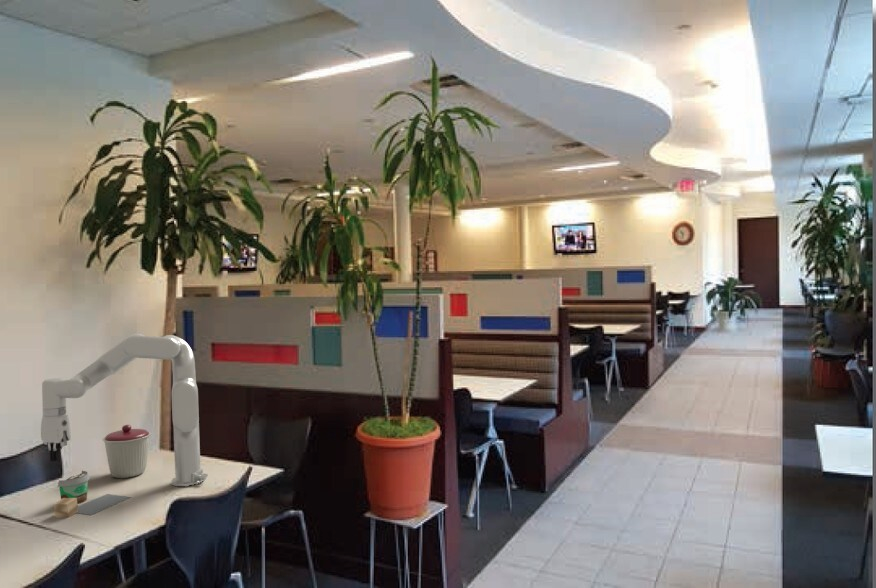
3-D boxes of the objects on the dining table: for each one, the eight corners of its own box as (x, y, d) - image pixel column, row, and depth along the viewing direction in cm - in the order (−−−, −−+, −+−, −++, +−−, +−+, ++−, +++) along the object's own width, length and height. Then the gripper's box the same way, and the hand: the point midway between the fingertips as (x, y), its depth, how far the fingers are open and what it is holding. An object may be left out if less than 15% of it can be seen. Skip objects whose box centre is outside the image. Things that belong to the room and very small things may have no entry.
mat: (131, 498, 237) (131, 497, 237) (90, 515, 220) (90, 514, 220) (107, 495, 241) (107, 493, 241) (65, 512, 224) (65, 511, 224)
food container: (73, 509, 227) (72, 481, 227) (58, 508, 229) (57, 480, 228) (98, 496, 239) (97, 470, 239) (84, 496, 241) (83, 470, 240)
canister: (94, 478, 261) (92, 428, 260) (130, 466, 278) (128, 418, 277) (126, 483, 254) (124, 431, 253) (161, 470, 271) (159, 421, 270)
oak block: (78, 511, 224) (76, 497, 223) (68, 517, 219) (67, 504, 218) (65, 511, 224) (63, 497, 224) (55, 517, 219) (53, 504, 219)
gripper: (78, 411, 237) (79, 459, 238) (48, 408, 242) (50, 455, 243) (60, 415, 230) (61, 465, 231) (30, 412, 235) (31, 461, 236)
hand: (55, 460), depth 237 cm, fingers closed
